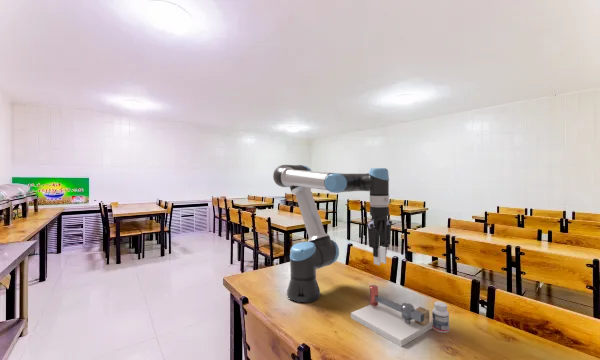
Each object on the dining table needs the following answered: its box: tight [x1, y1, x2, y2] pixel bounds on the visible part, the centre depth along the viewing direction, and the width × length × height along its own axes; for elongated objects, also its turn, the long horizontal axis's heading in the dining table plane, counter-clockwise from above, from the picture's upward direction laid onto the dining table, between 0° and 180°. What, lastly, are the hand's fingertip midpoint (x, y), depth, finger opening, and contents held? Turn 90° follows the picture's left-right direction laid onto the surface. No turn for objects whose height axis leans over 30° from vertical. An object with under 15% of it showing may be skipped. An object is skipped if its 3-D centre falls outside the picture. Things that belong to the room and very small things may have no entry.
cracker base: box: [350, 302, 433, 347], centre depth 100 cm, size 22×18×4 cm
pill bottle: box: [431, 301, 450, 334], centre depth 96 cm, size 5×5×9 cm
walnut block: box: [414, 306, 430, 326], centre depth 96 cm, size 4×4×4 cm
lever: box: [369, 284, 424, 322], centre depth 101 cm, size 22×4×7 cm, turn 35°
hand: (380, 263), depth 111 cm, fingers open, 3 cm apart
